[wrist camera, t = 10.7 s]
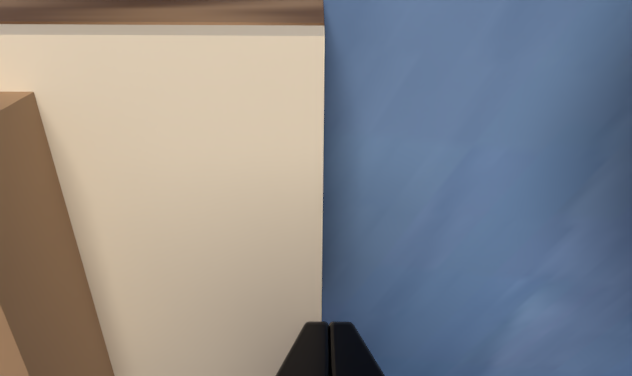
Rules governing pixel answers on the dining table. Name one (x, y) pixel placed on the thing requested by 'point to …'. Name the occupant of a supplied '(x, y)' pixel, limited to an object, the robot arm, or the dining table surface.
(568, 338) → the dining table surface
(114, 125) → the lid
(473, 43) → the dining table surface
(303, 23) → the wooden box
